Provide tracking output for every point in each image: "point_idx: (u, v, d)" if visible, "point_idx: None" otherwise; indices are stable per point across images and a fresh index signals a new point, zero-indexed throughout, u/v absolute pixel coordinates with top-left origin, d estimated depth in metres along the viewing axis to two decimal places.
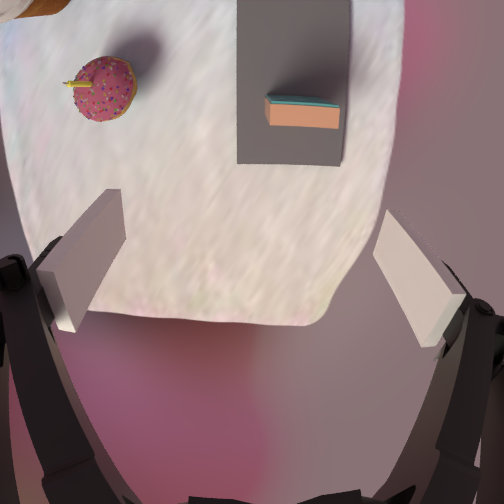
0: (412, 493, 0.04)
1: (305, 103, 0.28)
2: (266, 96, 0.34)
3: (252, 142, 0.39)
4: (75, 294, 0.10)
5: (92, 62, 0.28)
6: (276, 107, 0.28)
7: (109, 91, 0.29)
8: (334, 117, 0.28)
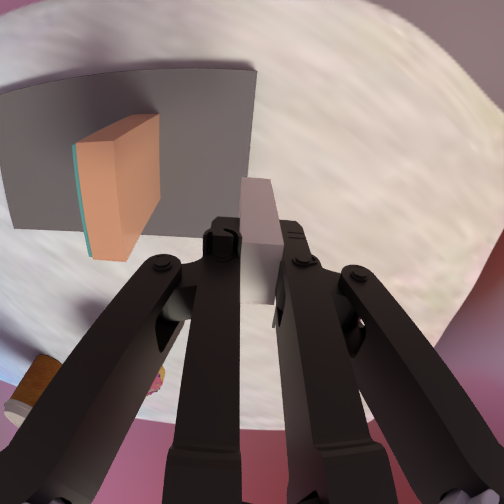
0: None
1: (81, 204, 0.15)
2: None
3: (208, 217, 0.26)
4: None
5: None
6: (96, 251, 0.16)
7: None
8: (93, 151, 0.13)
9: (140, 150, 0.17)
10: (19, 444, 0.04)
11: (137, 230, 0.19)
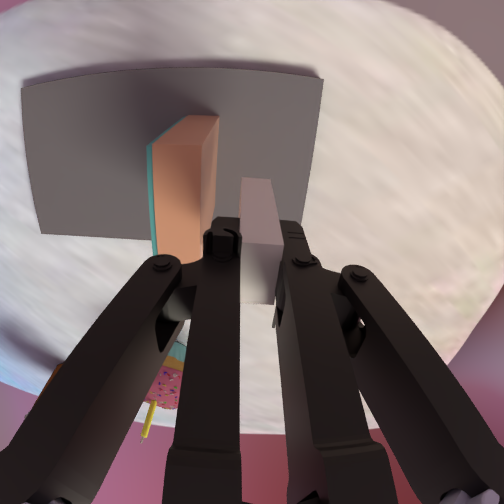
0: None
1: (151, 214, 0.14)
2: None
3: None
4: None
5: None
6: None
7: (163, 390, 0.29)
8: (174, 155, 0.13)
9: (210, 155, 0.17)
10: (19, 444, 0.04)
11: None
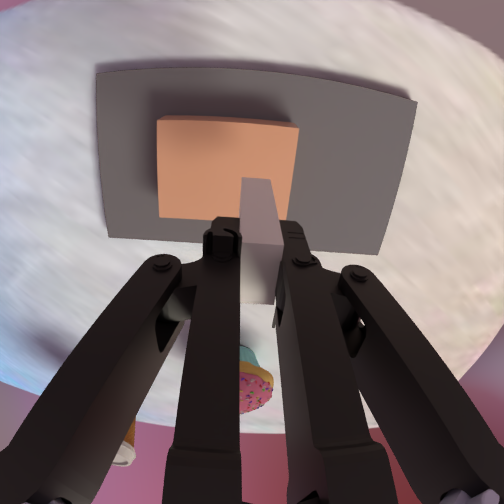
0: None
1: None
2: None
3: (354, 233, 0.25)
4: None
5: None
6: None
7: None
8: None
9: (220, 146, 0.19)
10: (19, 444, 0.04)
11: (196, 212, 0.21)
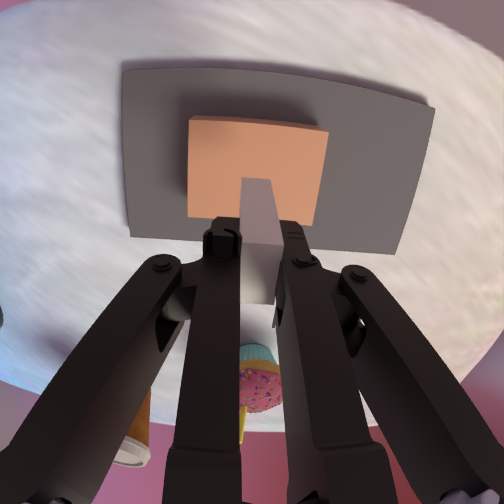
0: None
1: None
2: None
3: (373, 233, 0.26)
4: None
5: None
6: None
7: (258, 395, 0.29)
8: None
9: (252, 147, 0.19)
10: (19, 444, 0.04)
11: (225, 212, 0.22)
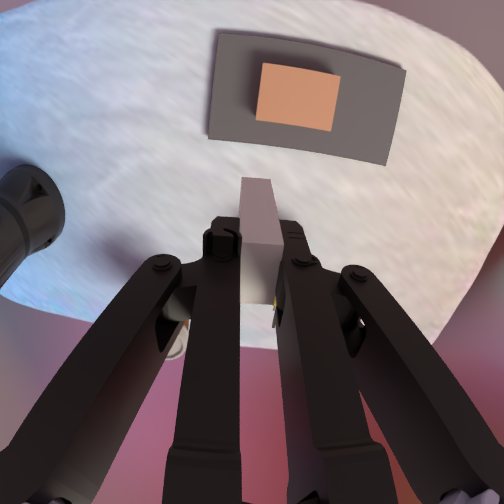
0: None
1: None
2: None
3: (370, 148, 0.38)
4: None
5: None
6: None
7: None
8: (262, 66, 0.31)
9: (297, 81, 0.31)
10: (19, 444, 0.04)
11: (279, 118, 0.34)
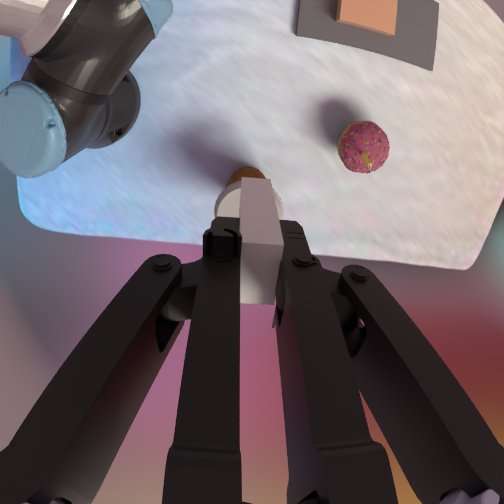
0: None
1: (338, 3, 0.34)
2: (380, 32, 0.36)
3: (420, 55, 0.38)
4: None
5: (343, 150, 0.43)
6: (336, 17, 0.35)
7: (373, 140, 0.41)
8: None
9: None
10: (19, 444, 0.04)
11: (357, 20, 0.34)
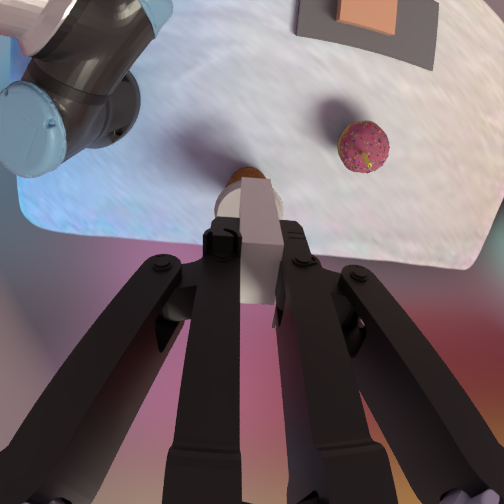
0: None
1: (338, 3, 0.34)
2: (380, 32, 0.36)
3: (420, 55, 0.38)
4: None
5: (343, 150, 0.43)
6: (336, 17, 0.35)
7: (373, 140, 0.41)
8: None
9: None
10: (19, 444, 0.04)
11: (357, 20, 0.34)
